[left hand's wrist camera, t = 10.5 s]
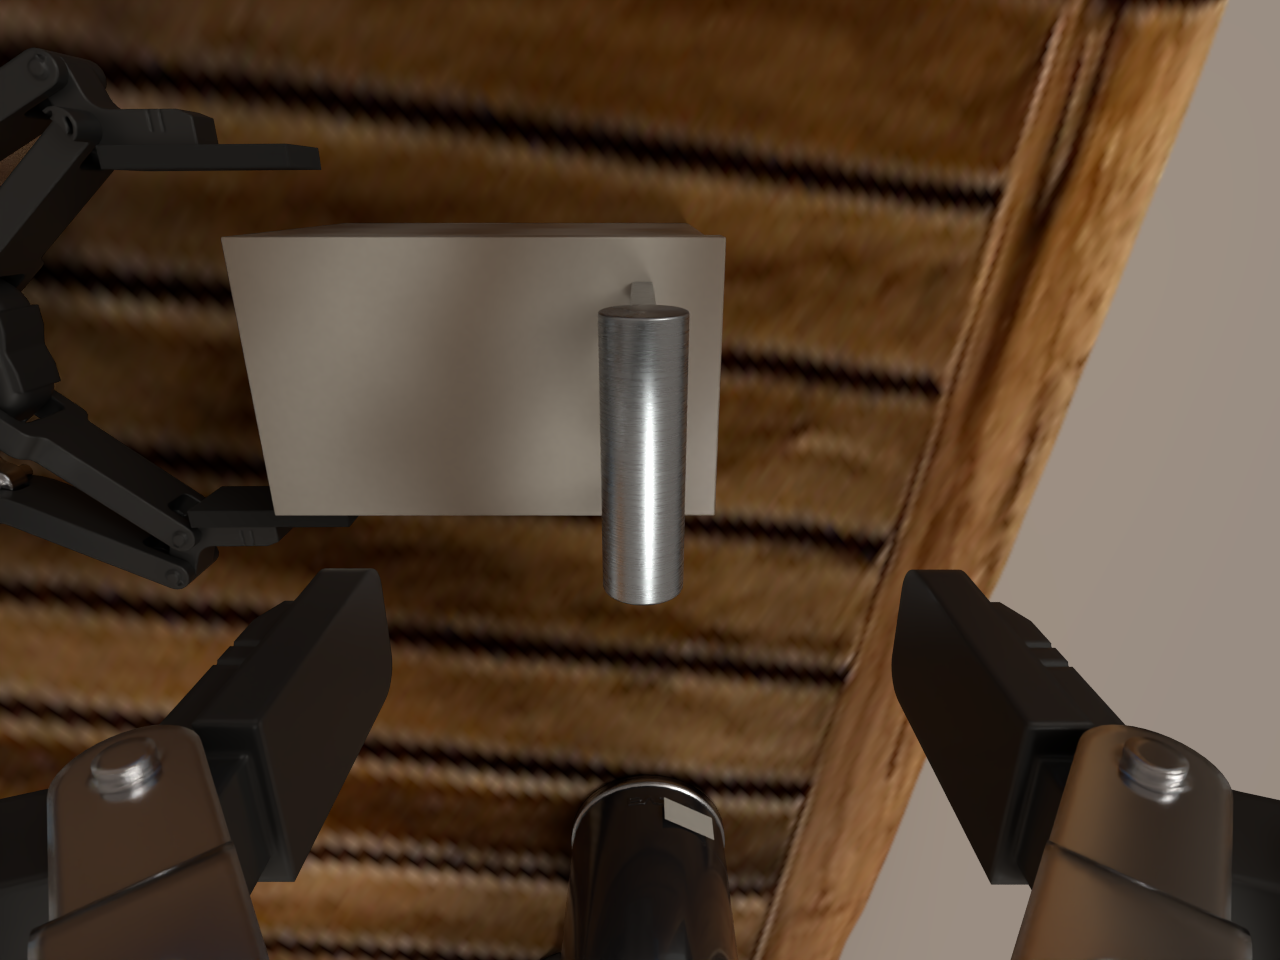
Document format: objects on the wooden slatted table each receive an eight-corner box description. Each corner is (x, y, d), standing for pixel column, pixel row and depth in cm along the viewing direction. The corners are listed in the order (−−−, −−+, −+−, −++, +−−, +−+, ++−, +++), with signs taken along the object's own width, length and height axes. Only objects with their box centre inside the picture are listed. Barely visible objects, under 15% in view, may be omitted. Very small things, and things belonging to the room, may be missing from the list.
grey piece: (722, 235, 24) (768, 260, 16) (711, 503, 28) (745, 646, 19) (237, 235, 24) (13, 260, 16) (288, 503, 28) (127, 647, 19)
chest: (688, 223, 33) (706, 235, 24) (683, 427, 37) (697, 503, 28) (345, 223, 33) (238, 234, 24) (373, 427, 37) (288, 503, 28)
